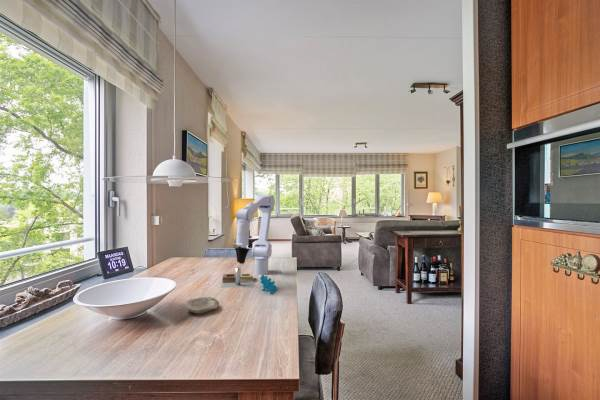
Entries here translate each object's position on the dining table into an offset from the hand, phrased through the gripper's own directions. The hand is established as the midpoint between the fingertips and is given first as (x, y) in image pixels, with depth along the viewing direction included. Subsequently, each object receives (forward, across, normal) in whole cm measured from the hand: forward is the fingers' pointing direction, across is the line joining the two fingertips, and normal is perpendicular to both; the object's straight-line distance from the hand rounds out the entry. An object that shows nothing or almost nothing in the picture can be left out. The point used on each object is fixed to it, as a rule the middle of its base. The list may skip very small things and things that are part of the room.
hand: (240, 262), depth 141 cm
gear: (+12, +11, +12) cm, 20 cm away
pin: (+10, -2, 0) cm, 11 cm away
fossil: (+16, +24, -16) cm, 33 cm away
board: (+10, -7, +1) cm, 13 cm away
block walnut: (+10, -10, -3) cm, 14 cm away
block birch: (+9, -9, +4) cm, 14 cm away
